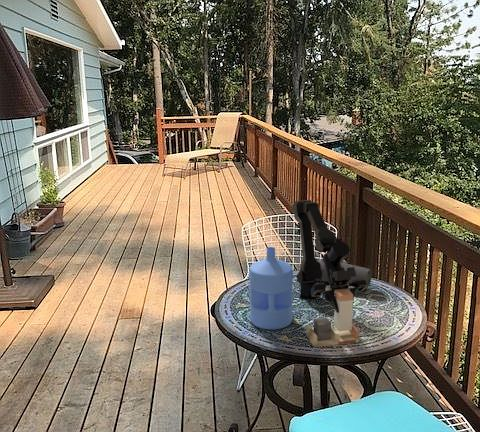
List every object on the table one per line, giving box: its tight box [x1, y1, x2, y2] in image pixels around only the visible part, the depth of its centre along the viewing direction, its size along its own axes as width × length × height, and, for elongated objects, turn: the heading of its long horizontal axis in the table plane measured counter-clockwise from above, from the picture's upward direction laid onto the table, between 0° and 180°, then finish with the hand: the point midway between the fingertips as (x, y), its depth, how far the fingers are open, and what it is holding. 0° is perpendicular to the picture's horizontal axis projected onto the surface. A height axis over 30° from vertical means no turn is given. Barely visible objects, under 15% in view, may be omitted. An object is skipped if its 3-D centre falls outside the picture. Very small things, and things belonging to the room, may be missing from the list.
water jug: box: [248, 246, 294, 331], centre depth 177 cm, size 16×16×28 cm
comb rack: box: [306, 316, 360, 348], centre depth 166 cm, size 8×16×7 cm, turn 101°
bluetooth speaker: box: [316, 259, 372, 290], centre depth 207 cm, size 23×9×10 cm, turn 58°
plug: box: [333, 289, 354, 331], centre depth 165 cm, size 4×4×13 cm
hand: (345, 311), depth 164 cm, fingers closed on plug, 4 cm apart
